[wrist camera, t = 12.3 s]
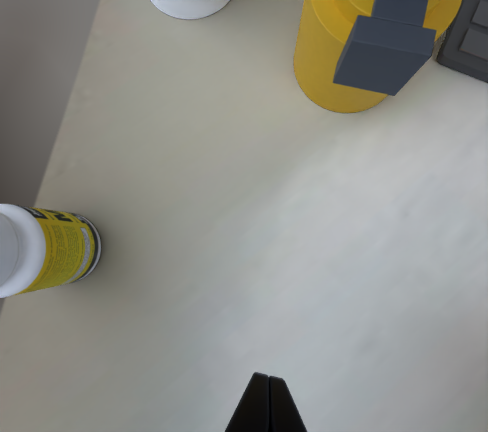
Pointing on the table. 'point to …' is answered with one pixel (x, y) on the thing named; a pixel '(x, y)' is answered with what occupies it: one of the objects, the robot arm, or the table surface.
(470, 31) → the calculator
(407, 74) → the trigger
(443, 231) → the table surface
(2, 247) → the supplement bottle
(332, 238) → the table surface
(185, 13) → the cylindrical container
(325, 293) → the table surface
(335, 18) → the spray bottle
